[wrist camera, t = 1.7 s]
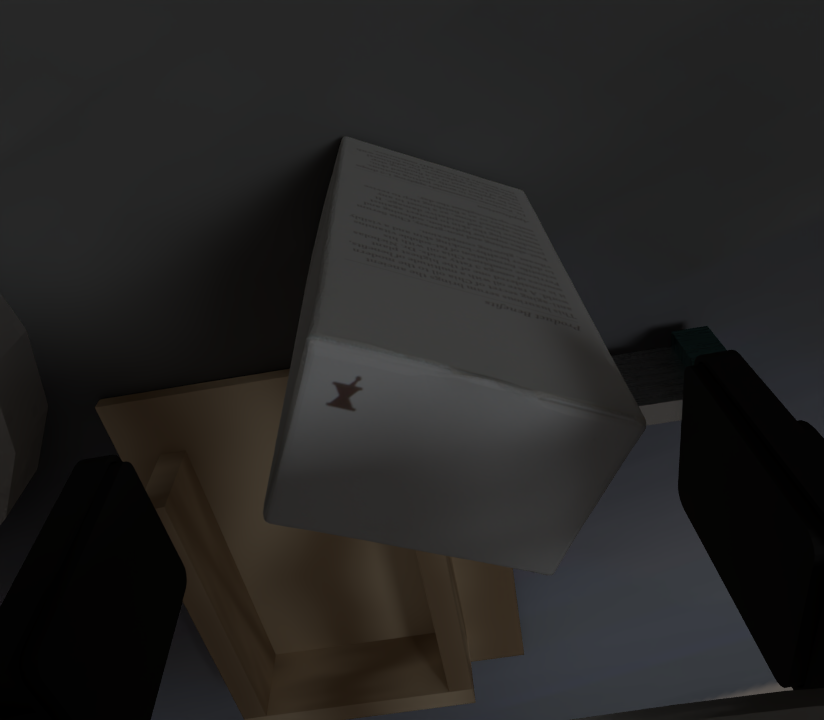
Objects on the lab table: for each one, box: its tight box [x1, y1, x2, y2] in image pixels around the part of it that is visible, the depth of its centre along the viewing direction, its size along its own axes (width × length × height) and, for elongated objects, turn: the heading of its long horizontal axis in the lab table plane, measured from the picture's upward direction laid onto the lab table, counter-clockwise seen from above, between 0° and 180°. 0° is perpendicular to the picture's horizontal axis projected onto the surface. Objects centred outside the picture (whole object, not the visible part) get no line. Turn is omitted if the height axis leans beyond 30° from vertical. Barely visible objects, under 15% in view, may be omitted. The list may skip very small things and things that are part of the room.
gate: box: [611, 326, 727, 425], centre depth 23 cm, size 12×2×4 cm, turn 100°
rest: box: [95, 369, 524, 720], centre depth 28 cm, size 14×18×4 cm
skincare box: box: [263, 136, 647, 575], centre depth 17 cm, size 6×4×12 cm
